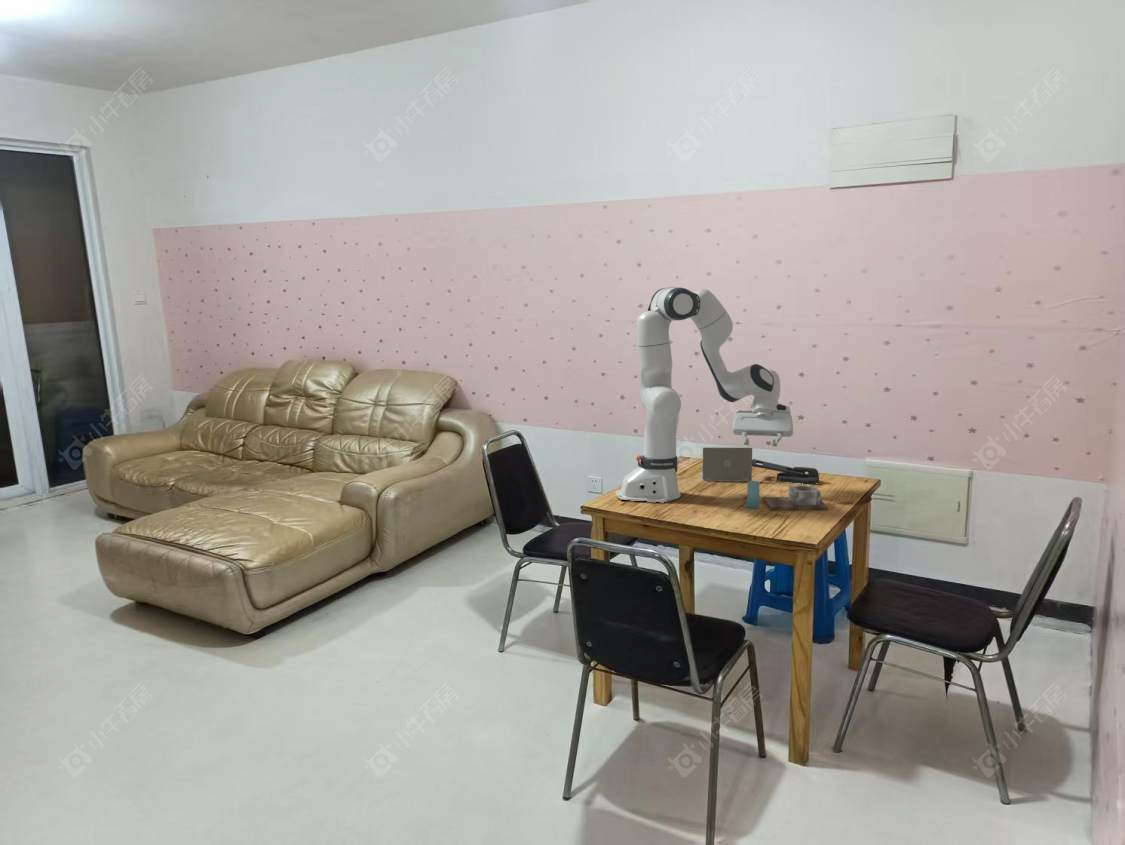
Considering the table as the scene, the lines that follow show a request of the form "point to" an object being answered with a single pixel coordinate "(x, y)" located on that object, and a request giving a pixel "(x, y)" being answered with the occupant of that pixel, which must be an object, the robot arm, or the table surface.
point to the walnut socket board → (797, 499)
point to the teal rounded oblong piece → (753, 494)
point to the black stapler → (790, 472)
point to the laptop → (727, 464)
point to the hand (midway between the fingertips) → (760, 444)
